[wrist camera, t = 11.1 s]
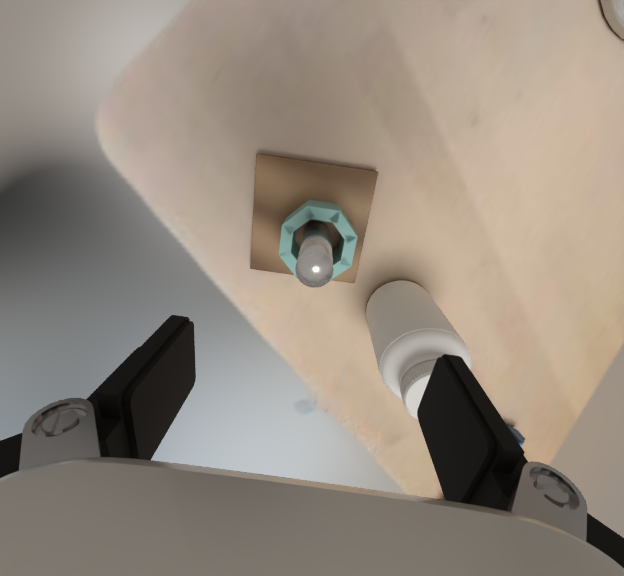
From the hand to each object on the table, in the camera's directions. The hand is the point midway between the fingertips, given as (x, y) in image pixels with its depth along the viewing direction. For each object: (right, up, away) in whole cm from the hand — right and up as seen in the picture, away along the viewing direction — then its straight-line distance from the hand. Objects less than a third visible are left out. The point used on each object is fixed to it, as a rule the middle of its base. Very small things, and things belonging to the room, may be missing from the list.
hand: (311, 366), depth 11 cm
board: (0, +10, +21) cm, 23 cm away
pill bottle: (+11, +1, +25) cm, 27 cm away
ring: (+1, +9, +20) cm, 22 cm away
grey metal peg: (+1, +9, +20) cm, 22 cm away
